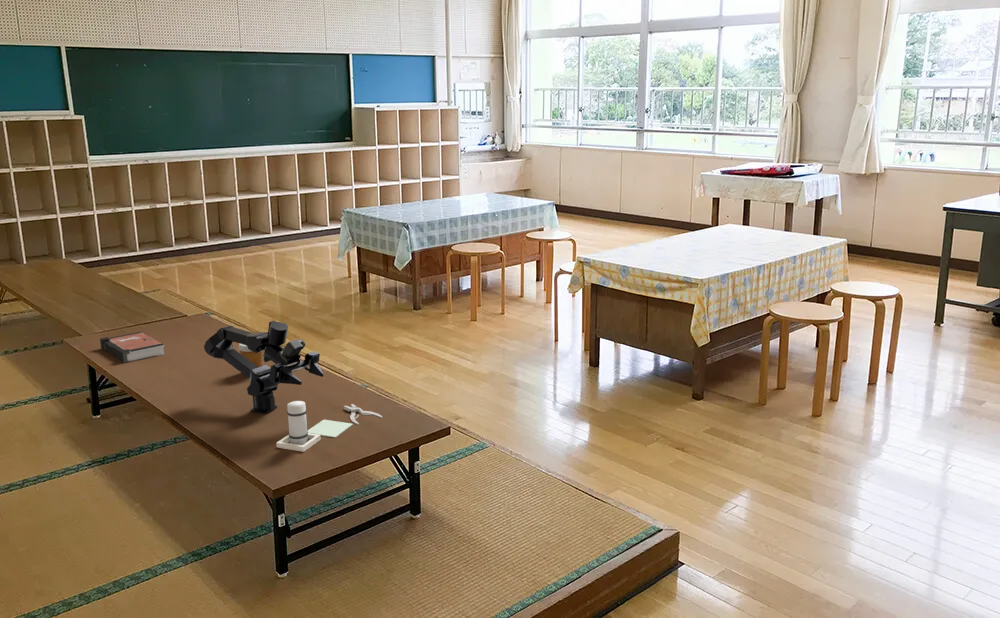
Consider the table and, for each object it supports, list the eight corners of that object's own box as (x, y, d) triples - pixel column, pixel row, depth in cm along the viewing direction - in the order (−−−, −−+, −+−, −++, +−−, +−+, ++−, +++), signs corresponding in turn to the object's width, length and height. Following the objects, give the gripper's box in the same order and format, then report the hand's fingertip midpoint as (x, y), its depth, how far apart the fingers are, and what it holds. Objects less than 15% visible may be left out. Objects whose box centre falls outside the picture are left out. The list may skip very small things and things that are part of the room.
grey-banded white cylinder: (285, 445, 249) (282, 406, 246) (296, 438, 255) (293, 399, 251) (301, 448, 248) (299, 408, 244) (312, 441, 253) (309, 402, 249)
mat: (305, 433, 259) (305, 432, 259) (323, 420, 269) (323, 419, 269) (335, 437, 255) (335, 436, 255) (353, 424, 265) (353, 423, 265)
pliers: (357, 421, 265) (335, 408, 276) (357, 425, 265) (335, 412, 276) (383, 414, 271) (360, 401, 282) (383, 418, 271) (360, 405, 282)
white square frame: (276, 447, 248) (276, 442, 248) (294, 435, 257) (294, 430, 257) (303, 451, 245) (303, 447, 245) (320, 439, 254) (320, 435, 253)
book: (167, 354, 338) (166, 343, 336) (124, 364, 326) (122, 352, 325) (143, 341, 356) (141, 330, 354) (101, 349, 344) (99, 338, 343)
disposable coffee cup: (269, 368, 319) (267, 339, 316) (260, 376, 310) (257, 346, 307) (246, 367, 320) (243, 338, 317) (236, 376, 311) (233, 346, 308)
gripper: (260, 342, 256) (293, 366, 249) (306, 328, 271) (338, 350, 264) (256, 371, 261) (288, 395, 254) (300, 356, 275) (332, 379, 268)
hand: (312, 379), depth 260 cm, fingers open, 9 cm apart
